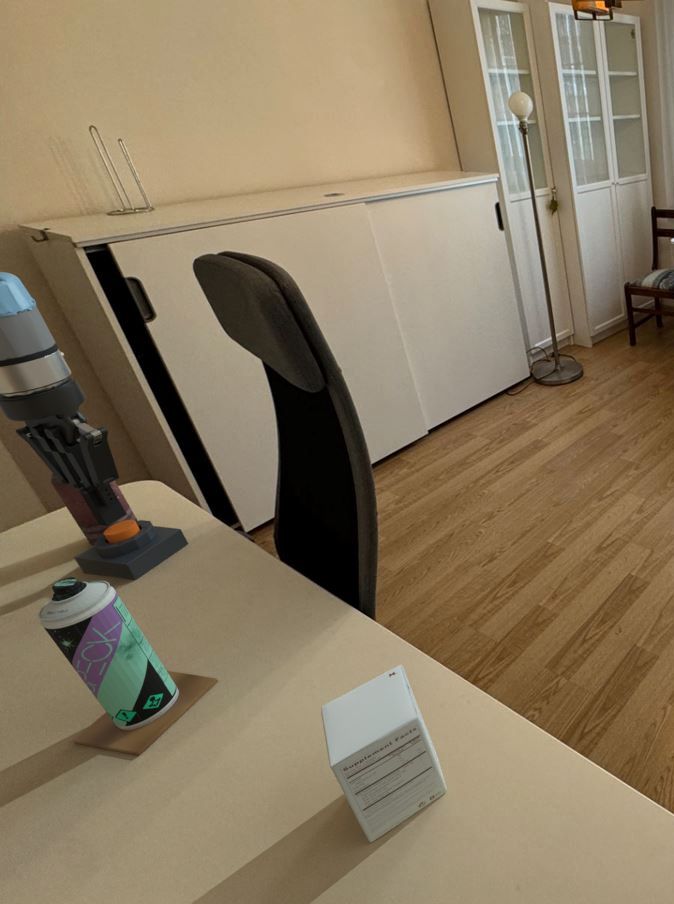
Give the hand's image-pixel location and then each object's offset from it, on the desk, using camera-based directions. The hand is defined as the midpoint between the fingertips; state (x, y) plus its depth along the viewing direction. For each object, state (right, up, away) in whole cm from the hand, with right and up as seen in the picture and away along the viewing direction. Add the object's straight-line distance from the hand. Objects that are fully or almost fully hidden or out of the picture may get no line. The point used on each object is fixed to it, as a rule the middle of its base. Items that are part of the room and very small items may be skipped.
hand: (113, 519), depth 86 cm
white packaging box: (+62, -20, -28) cm, 71 cm away
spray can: (+27, -17, -20) cm, 38 cm away
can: (-9, -5, +8) cm, 13 cm away
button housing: (0, -7, +3) cm, 8 cm away
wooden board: (+27, -17, -20) cm, 38 cm away
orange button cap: (0, -3, +1) cm, 3 cm away
